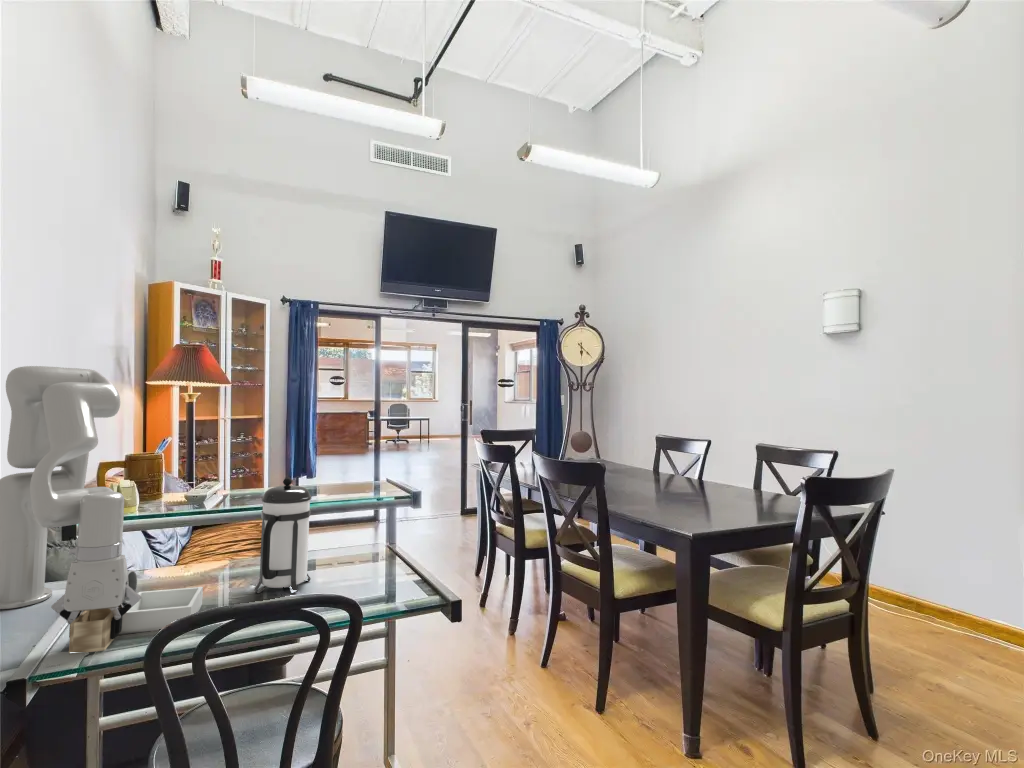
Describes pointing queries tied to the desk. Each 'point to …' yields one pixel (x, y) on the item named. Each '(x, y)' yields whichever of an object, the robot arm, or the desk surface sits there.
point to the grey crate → (161, 609)
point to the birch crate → (91, 631)
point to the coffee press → (284, 536)
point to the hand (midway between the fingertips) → (95, 637)
